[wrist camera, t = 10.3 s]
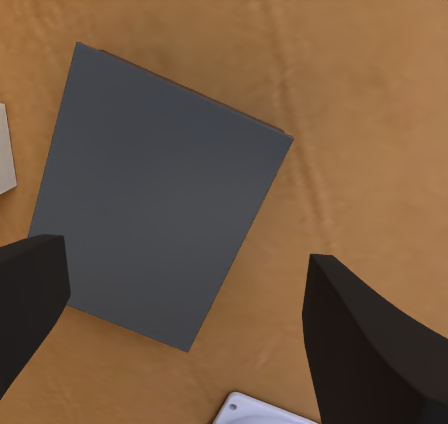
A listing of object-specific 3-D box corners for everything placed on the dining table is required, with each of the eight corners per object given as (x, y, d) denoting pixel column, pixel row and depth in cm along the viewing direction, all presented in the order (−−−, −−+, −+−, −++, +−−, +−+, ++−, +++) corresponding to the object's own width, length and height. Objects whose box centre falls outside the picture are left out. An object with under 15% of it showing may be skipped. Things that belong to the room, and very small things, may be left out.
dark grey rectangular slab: (194, 324, 24) (188, 353, 22) (39, 262, 23) (15, 285, 21) (290, 128, 19) (294, 138, 17) (98, 43, 19) (76, 41, 16)
